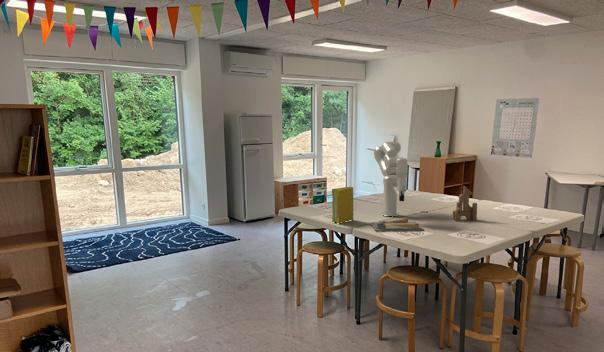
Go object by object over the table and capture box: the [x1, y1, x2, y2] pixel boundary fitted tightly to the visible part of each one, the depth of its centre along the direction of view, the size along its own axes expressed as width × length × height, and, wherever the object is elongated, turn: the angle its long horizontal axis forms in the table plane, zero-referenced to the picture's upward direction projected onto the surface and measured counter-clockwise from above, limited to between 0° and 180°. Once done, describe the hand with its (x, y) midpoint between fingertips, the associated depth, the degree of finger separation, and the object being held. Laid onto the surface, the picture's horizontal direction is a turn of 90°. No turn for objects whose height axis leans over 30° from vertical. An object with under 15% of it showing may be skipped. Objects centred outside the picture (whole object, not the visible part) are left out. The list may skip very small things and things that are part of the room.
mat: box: [370, 221, 425, 232], centre depth 280 cm, size 22×32×1 cm
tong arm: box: [377, 217, 409, 225], centre depth 280 cm, size 6×27×4 cm, turn 118°
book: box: [331, 186, 354, 224], centre depth 298 cm, size 17×7×25 cm, turn 126°
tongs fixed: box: [377, 222, 420, 230], centre depth 273 cm, size 5×27×4 cm, turn 90°
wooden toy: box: [452, 185, 478, 222], centre depth 295 cm, size 16×7×25 cm, turn 90°
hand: (401, 200), depth 292 cm, fingers closed
